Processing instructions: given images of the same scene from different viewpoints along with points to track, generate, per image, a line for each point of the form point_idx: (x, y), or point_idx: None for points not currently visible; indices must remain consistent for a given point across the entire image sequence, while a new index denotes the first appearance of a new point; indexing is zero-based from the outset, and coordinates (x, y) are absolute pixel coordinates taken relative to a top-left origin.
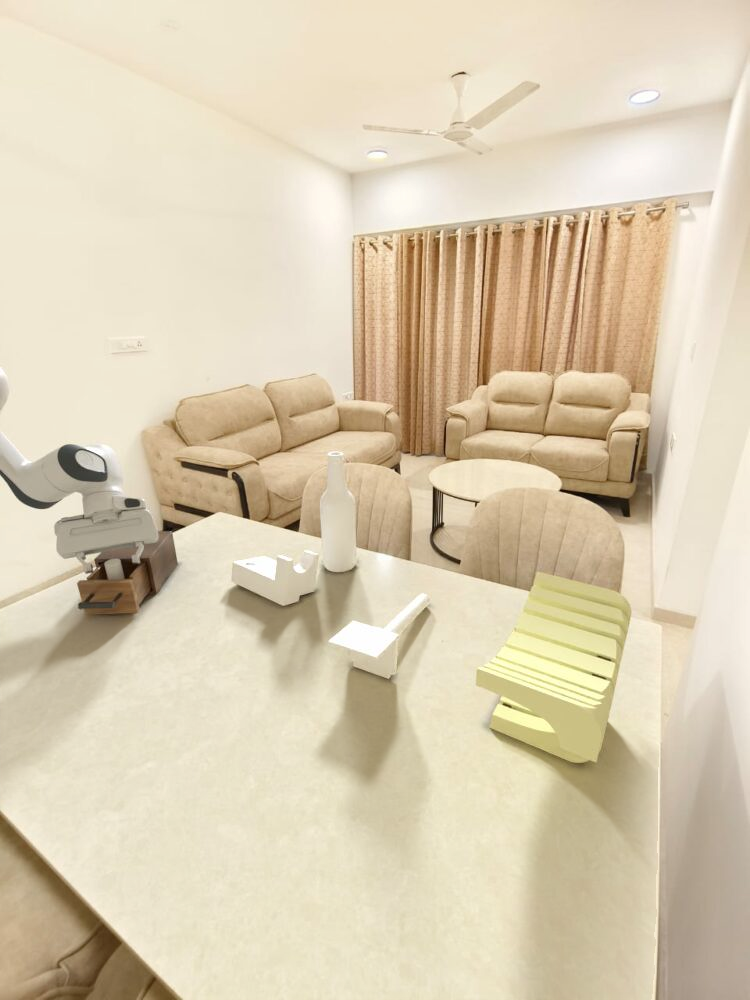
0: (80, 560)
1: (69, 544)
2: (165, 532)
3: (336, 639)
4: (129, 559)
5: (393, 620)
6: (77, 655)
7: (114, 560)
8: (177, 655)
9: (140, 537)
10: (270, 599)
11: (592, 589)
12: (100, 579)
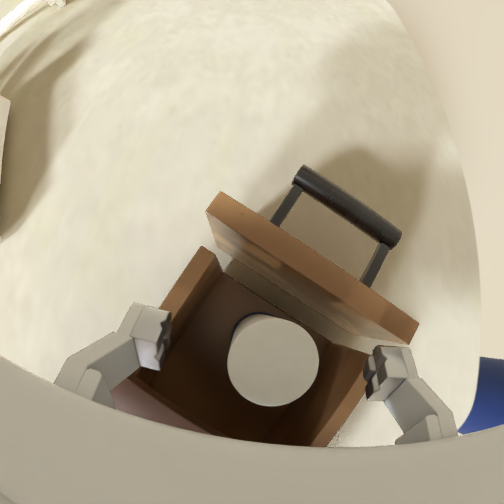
0: (434, 396)
1: (498, 468)
2: None
3: None
4: (180, 413)
5: (6, 17)
6: (374, 159)
7: (259, 376)
8: (198, 59)
9: (37, 392)
10: (5, 124)
11: None
12: (316, 403)
